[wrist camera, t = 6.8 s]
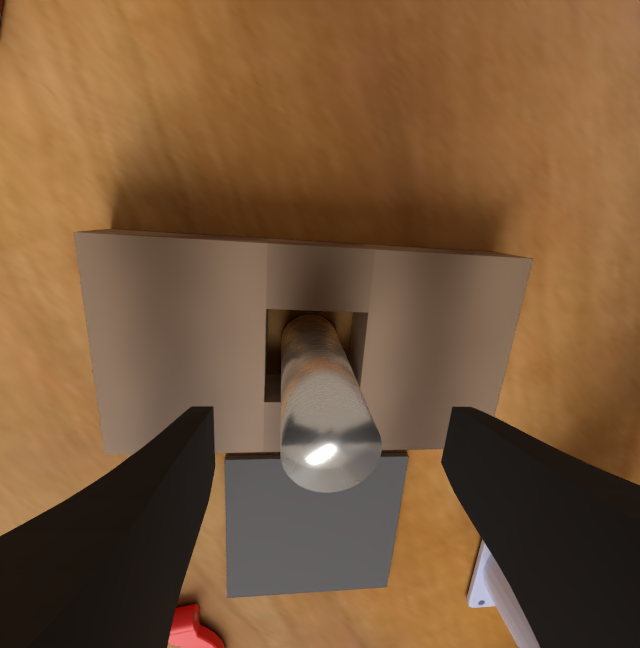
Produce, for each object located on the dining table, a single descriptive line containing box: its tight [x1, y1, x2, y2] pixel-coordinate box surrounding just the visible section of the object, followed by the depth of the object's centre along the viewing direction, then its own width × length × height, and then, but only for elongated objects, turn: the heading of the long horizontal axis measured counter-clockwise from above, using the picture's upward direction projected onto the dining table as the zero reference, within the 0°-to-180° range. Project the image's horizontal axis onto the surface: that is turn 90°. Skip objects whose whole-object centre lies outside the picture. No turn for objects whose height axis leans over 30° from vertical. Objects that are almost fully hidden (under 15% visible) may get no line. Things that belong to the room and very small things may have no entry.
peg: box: [280, 314, 382, 493], centre depth 14 cm, size 3×3×9 cm
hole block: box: [74, 229, 533, 455], centre depth 17 cm, size 19×10×3 cm, turn 86°
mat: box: [225, 452, 409, 598], centre depth 22 cm, size 11×11×1 cm
